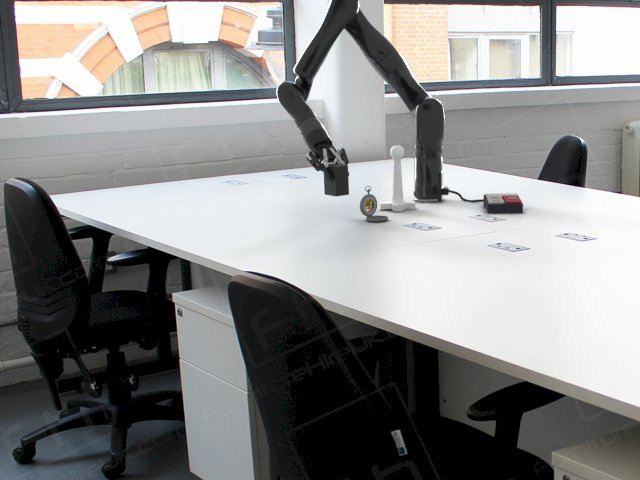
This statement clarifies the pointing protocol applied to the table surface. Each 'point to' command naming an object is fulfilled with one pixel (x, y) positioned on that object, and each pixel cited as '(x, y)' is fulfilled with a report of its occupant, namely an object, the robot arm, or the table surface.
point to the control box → (503, 203)
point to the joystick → (397, 184)
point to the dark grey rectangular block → (337, 181)
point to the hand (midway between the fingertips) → (339, 178)
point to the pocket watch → (371, 210)
